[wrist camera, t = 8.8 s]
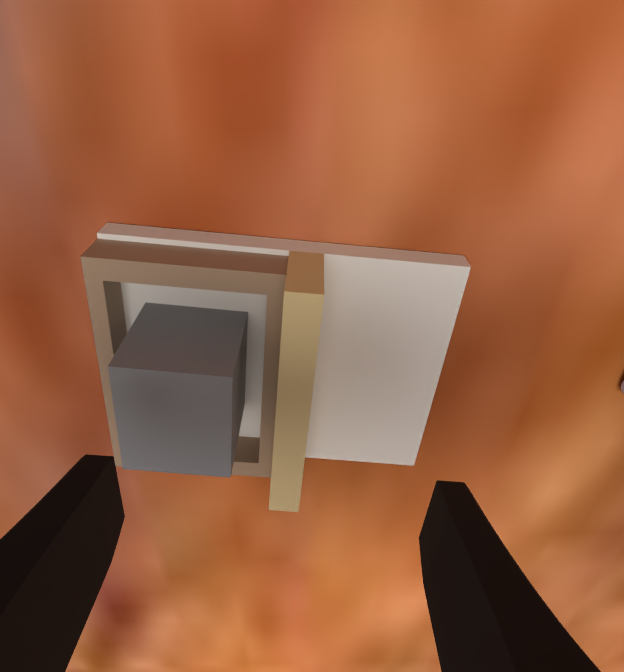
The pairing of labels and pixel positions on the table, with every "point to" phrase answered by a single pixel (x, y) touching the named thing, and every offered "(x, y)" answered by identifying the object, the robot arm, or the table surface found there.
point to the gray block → (180, 389)
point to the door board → (294, 337)
